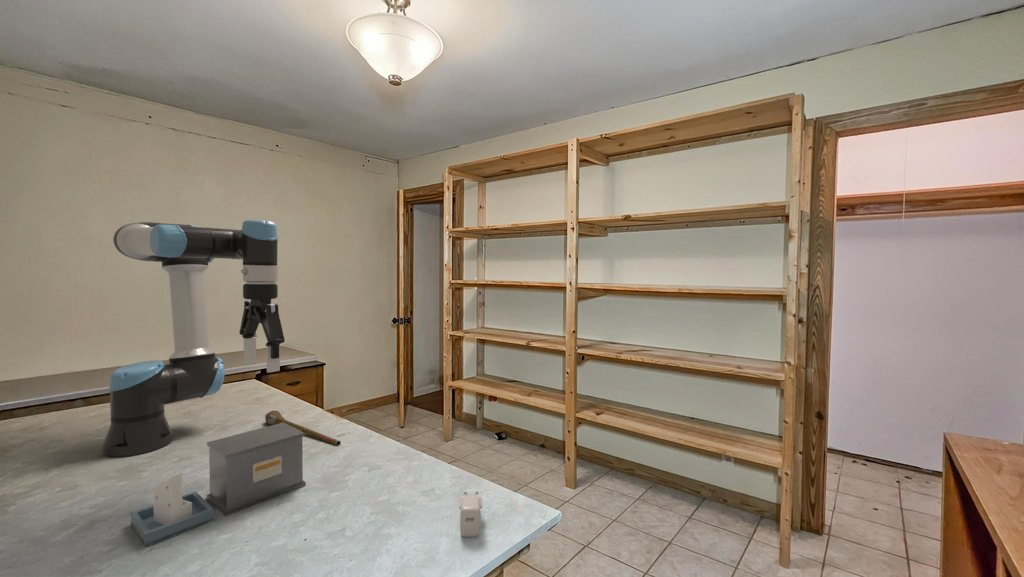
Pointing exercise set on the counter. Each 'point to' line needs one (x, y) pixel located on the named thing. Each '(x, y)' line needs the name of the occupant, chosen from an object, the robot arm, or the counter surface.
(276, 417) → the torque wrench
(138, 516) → the tray
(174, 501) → the white wedge bracket
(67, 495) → the counter surface
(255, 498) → the box
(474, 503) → the power adapter
